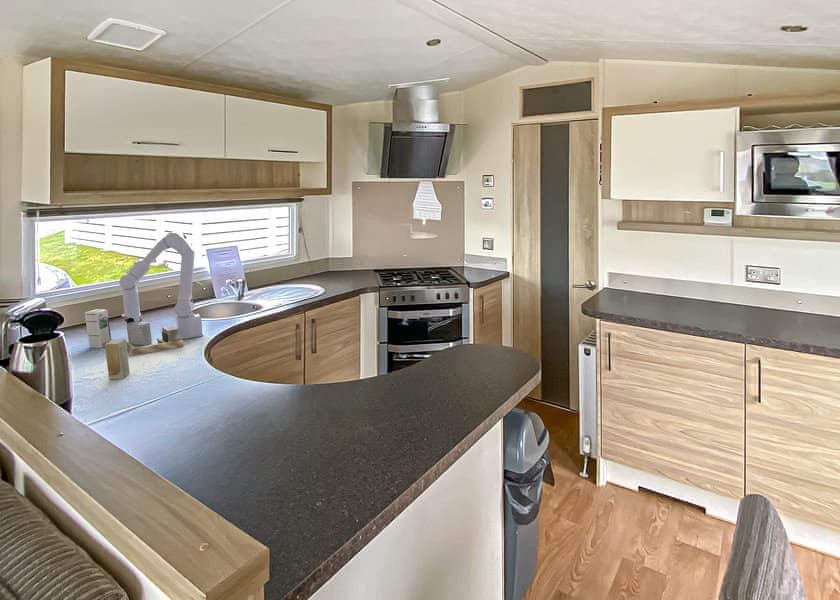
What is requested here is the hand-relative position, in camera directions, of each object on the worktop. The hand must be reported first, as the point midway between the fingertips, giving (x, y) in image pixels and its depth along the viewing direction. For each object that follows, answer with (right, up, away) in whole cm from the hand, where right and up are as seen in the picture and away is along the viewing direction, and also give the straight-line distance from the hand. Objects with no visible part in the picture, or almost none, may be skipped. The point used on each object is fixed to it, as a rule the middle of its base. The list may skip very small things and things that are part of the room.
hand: (134, 335), depth 232 cm
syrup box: (-9, -4, -8) cm, 13 cm away
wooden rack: (+14, -4, -13) cm, 19 cm away
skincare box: (+19, -11, -47) cm, 52 cm away
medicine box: (+5, -3, -6) cm, 8 cm away
